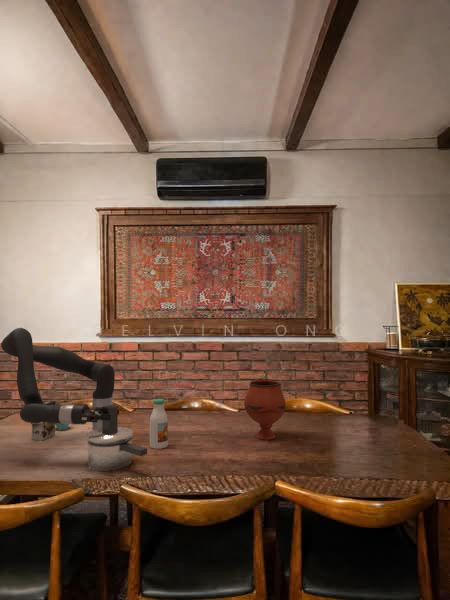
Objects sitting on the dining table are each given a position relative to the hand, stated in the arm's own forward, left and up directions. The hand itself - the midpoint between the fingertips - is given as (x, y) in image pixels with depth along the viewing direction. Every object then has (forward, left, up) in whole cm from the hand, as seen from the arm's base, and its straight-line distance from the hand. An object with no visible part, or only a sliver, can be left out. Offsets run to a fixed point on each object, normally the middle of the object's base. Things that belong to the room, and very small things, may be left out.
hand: (115, 414), depth 161 cm
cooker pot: (+1, +4, -18) cm, 19 cm away
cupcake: (-14, -61, -19) cm, 65 cm away
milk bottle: (-24, -2, -19) cm, 30 cm away
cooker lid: (+1, -2, -8) cm, 9 cm away
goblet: (-63, +27, -19) cm, 71 cm away
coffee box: (-1, -55, -19) cm, 58 cm away
